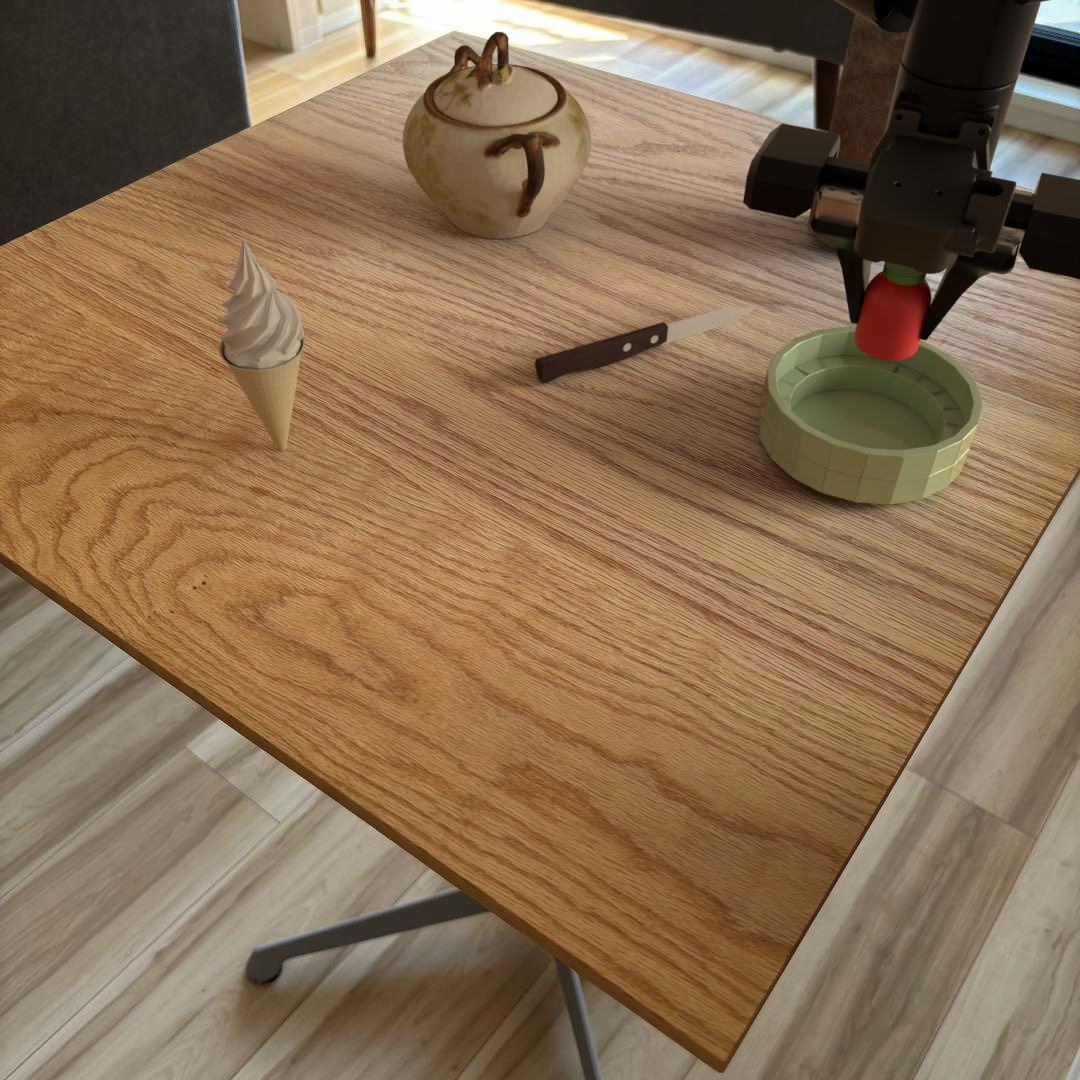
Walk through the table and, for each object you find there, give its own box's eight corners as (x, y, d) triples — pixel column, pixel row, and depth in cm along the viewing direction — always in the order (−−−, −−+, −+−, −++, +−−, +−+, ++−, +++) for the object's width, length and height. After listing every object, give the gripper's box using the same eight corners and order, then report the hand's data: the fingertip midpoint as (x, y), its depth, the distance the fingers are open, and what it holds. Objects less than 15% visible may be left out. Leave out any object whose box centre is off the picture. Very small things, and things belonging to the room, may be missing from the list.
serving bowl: (976, 410, 77) (996, 355, 74) (943, 535, 68) (964, 479, 65) (786, 362, 80) (797, 308, 77) (732, 475, 72) (742, 420, 69)
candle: (917, 256, 91) (989, -6, 77) (838, 274, 89) (898, 8, 75) (864, 211, 96) (923, -42, 82) (788, 227, 94) (835, -30, 80)
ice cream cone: (336, 436, 74) (305, 230, 64) (293, 483, 71) (253, 274, 60) (272, 415, 76) (231, 210, 65) (226, 460, 72) (176, 252, 62)
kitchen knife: (539, 388, 78) (539, 364, 77) (532, 380, 79) (533, 357, 77) (756, 321, 84) (760, 298, 83) (749, 315, 85) (752, 291, 83)
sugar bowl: (626, 259, 90) (639, 70, 79) (444, 292, 86) (433, 98, 76) (543, 150, 103) (545, -25, 93) (382, 174, 100) (366, -4, 89)
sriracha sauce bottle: (922, 333, 69) (945, 256, 65) (911, 367, 67) (934, 289, 63) (860, 319, 70) (879, 242, 67) (847, 351, 68) (866, 274, 64)
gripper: (733, 95, 54) (698, 363, 65) (1150, 173, 49) (1035, 449, 60) (792, 15, 61) (752, 268, 72) (1160, 75, 56) (1056, 338, 67)
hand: (888, 328), depth 68 cm, fingers closed on sriracha sauce bottle, 4 cm apart
